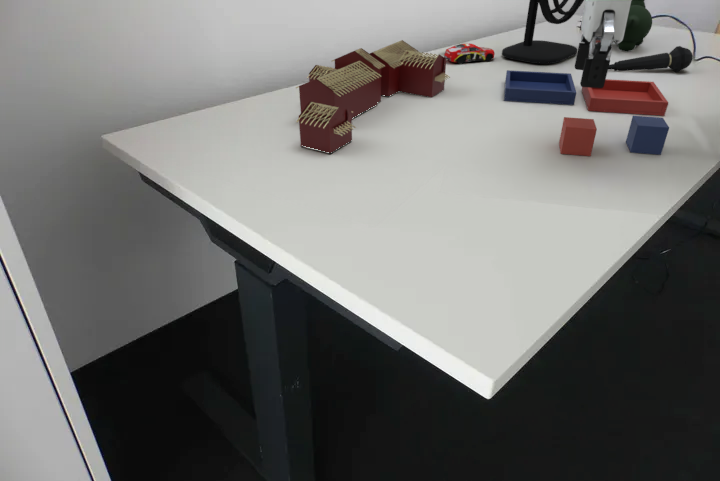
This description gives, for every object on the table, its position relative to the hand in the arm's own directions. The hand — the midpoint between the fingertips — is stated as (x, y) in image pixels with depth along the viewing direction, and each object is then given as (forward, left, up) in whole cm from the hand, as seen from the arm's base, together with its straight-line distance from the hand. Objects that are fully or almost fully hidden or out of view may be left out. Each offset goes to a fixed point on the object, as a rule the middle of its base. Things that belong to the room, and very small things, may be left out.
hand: (587, 77), depth 82 cm
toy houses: (+39, -12, -12) cm, 42 cm away
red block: (0, 0, -12) cm, 12 cm away
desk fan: (+3, -62, -12) cm, 63 cm away
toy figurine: (-20, -78, -12) cm, 82 cm away
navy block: (-11, -3, -12) cm, 17 cm away
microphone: (-20, -53, -12) cm, 58 cm away
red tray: (-11, -27, -12) cm, 32 cm away
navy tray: (+5, -30, -12) cm, 33 cm away
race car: (+21, -54, -12) cm, 59 cm away
